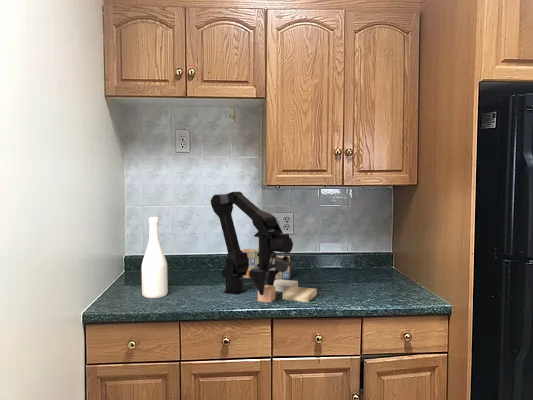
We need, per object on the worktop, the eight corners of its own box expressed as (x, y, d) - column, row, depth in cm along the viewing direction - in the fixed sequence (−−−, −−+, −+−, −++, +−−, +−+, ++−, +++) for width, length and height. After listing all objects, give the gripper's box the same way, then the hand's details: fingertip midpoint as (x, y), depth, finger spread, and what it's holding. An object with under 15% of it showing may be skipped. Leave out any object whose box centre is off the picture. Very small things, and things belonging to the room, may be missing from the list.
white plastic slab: (268, 291, 182) (268, 283, 182) (277, 286, 190) (277, 279, 190) (290, 293, 178) (290, 286, 178) (297, 288, 187) (297, 281, 186)
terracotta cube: (257, 301, 167) (257, 287, 167) (262, 297, 172) (262, 284, 171) (270, 302, 165) (270, 289, 165) (275, 299, 170) (275, 285, 169)
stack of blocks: (290, 276, 207) (290, 249, 206) (289, 279, 201) (289, 251, 200) (243, 274, 210) (243, 248, 209) (241, 277, 203) (241, 250, 203)
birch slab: (282, 300, 169) (282, 292, 169) (291, 293, 178) (291, 286, 178) (308, 303, 165) (308, 295, 165) (316, 296, 174) (316, 288, 174)
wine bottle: (153, 290, 181) (152, 215, 179) (172, 293, 176) (171, 216, 175) (136, 296, 172) (135, 217, 171) (156, 300, 168) (154, 219, 166)
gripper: (278, 255, 156) (278, 300, 157) (295, 247, 173) (295, 287, 174) (248, 253, 160) (248, 297, 161) (267, 245, 177) (267, 285, 178)
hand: (266, 291), depth 168 cm, fingers open, 9 cm apart
